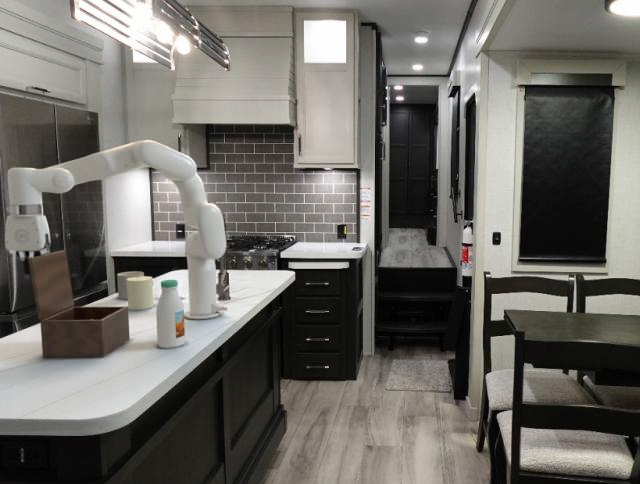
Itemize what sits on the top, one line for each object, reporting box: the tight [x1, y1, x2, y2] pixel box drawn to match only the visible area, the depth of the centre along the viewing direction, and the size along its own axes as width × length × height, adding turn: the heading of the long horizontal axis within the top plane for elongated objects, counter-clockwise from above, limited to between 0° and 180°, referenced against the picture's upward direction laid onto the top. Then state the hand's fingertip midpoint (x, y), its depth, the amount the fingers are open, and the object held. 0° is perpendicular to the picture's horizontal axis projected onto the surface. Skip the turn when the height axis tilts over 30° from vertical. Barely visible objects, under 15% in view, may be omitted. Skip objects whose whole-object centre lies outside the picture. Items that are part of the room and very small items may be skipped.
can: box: [127, 275, 155, 311], centre depth 194 cm, size 9×9×12 cm
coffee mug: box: [116, 271, 145, 300], centre depth 211 cm, size 13×10×10 cm
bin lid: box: [29, 249, 75, 320], centre depth 145 cm, size 17×16×1 cm
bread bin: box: [39, 306, 131, 359], centre depth 147 cm, size 17×16×11 cm
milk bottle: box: [156, 279, 186, 349], centre depth 151 cm, size 8×8×20 cm
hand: (31, 273), depth 144 cm, fingers closed
